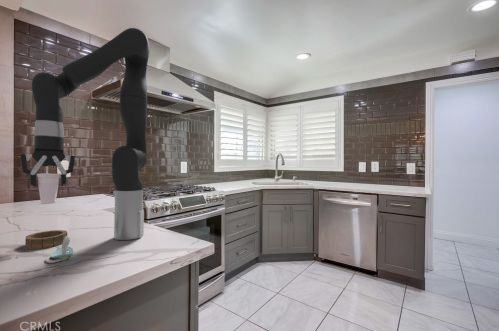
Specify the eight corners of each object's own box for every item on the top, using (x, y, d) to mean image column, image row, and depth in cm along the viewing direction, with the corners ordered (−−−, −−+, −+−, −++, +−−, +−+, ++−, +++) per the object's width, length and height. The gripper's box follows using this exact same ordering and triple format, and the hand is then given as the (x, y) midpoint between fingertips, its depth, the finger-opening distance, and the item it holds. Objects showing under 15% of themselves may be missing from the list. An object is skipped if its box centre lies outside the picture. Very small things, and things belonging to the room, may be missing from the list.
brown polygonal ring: (72, 237, 85) (72, 229, 85) (56, 247, 74) (56, 238, 74) (38, 239, 82) (38, 231, 82) (16, 250, 72) (17, 240, 72)
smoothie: (45, 201, 81) (46, 161, 81) (65, 201, 82) (66, 161, 82) (29, 204, 75) (30, 160, 75) (51, 204, 76) (52, 160, 76)
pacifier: (44, 266, 61) (72, 261, 65) (43, 242, 61) (72, 238, 65) (46, 257, 67) (73, 253, 71) (46, 235, 67) (72, 232, 71)
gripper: (74, 138, 86) (73, 184, 86) (19, 134, 76) (18, 186, 76) (77, 136, 81) (77, 185, 81) (19, 132, 71) (18, 188, 71)
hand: (48, 185), depth 78 cm, fingers closed on smoothie, 6 cm apart
